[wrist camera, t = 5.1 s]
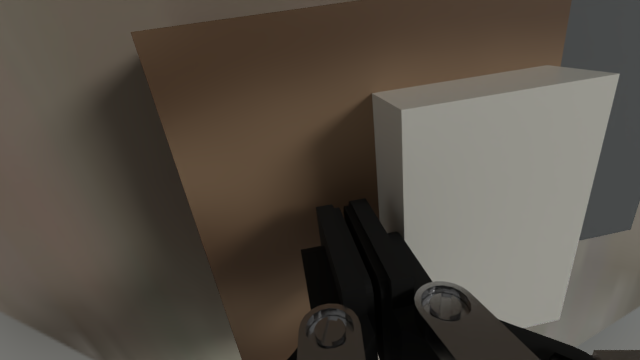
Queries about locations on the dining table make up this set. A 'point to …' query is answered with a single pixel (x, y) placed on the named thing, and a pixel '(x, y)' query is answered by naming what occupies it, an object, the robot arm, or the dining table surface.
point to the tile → (494, 180)
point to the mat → (627, 109)
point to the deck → (308, 124)
